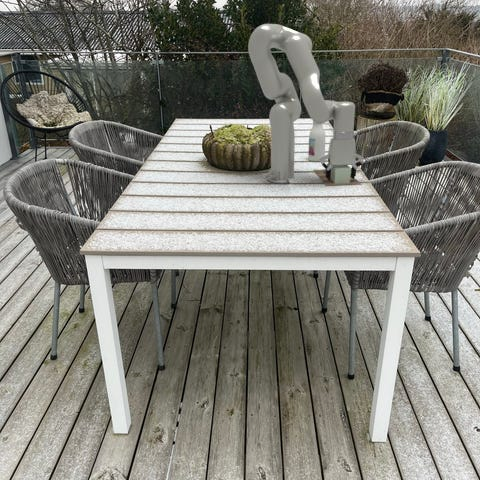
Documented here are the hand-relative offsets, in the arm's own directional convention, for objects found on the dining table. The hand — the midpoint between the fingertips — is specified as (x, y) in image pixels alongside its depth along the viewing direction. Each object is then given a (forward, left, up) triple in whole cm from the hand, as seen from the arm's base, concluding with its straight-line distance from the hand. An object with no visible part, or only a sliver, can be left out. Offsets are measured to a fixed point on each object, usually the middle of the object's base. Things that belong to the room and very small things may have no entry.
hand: (340, 178), depth 186 cm
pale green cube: (0, 0, -1) cm, 1 cm away
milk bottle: (+22, +35, -3) cm, 41 cm away
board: (+3, +6, -3) cm, 7 cm away
